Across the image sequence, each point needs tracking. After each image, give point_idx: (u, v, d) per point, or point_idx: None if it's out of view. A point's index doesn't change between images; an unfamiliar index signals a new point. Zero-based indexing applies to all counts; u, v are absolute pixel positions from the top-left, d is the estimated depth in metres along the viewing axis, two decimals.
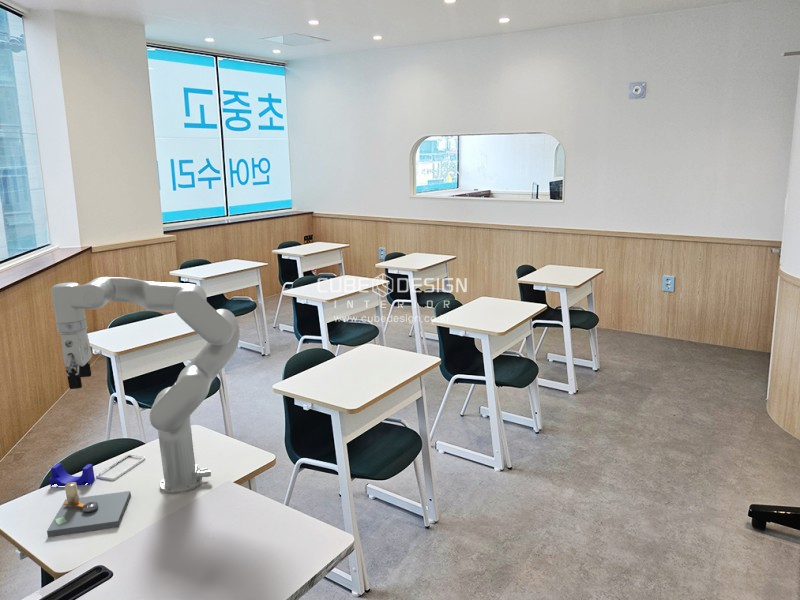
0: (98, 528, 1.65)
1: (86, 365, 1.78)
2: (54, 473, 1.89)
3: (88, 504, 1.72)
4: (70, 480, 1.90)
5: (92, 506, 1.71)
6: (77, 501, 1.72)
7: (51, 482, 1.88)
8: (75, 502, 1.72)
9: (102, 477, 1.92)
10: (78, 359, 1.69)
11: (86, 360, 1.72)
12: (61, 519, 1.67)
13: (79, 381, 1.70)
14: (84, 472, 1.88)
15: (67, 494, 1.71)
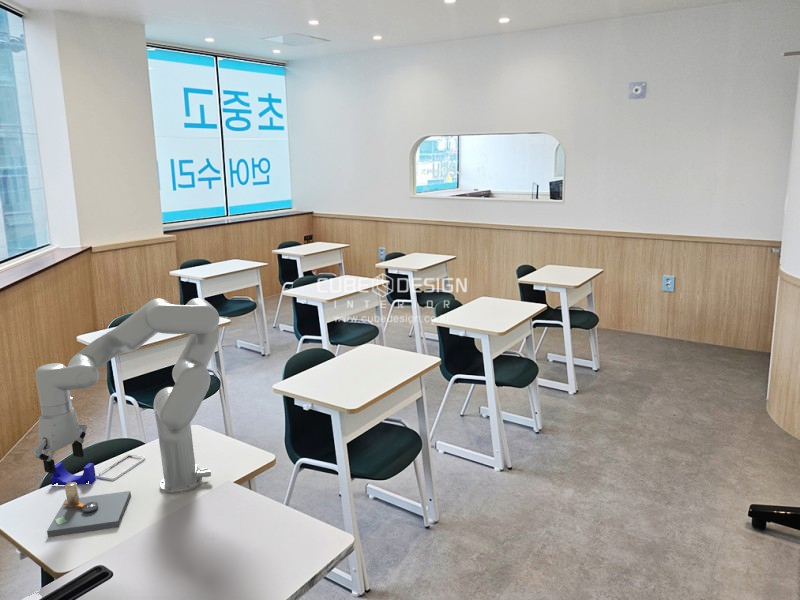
0: (98, 528, 1.65)
1: None
2: (55, 472, 1.89)
3: (88, 504, 1.72)
4: (71, 479, 1.90)
5: (92, 506, 1.71)
6: (77, 501, 1.72)
7: (52, 481, 1.89)
8: (75, 502, 1.72)
9: (102, 477, 1.92)
10: None
11: None
12: (61, 519, 1.67)
13: None
14: (85, 471, 1.88)
15: (67, 494, 1.71)
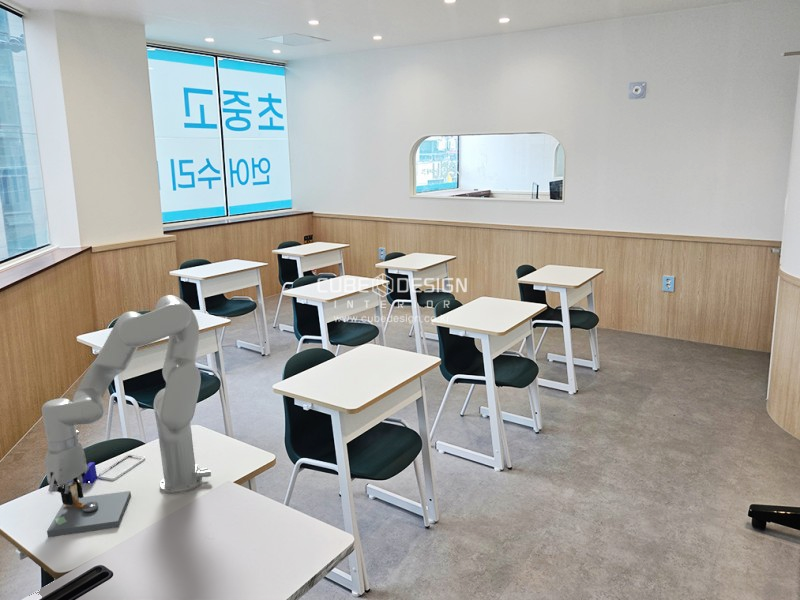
0: (98, 528, 1.65)
1: None
2: None
3: (88, 504, 1.72)
4: None
5: (92, 506, 1.71)
6: (77, 501, 1.72)
7: None
8: (75, 502, 1.72)
9: (102, 477, 1.92)
10: None
11: None
12: (61, 519, 1.67)
13: None
14: None
15: None
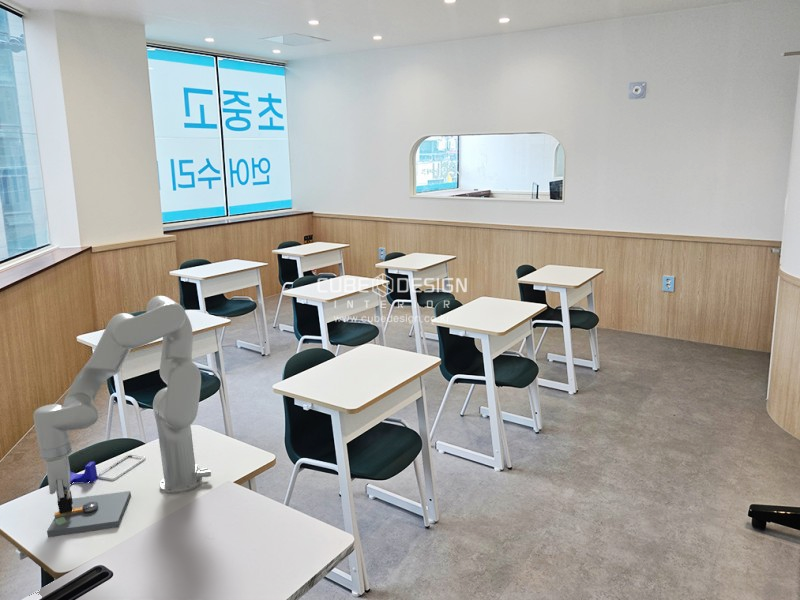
0: (98, 528, 1.65)
1: None
2: None
3: (86, 505, 1.71)
4: (73, 477, 1.91)
5: (94, 505, 1.72)
6: None
7: None
8: None
9: (102, 477, 1.92)
10: None
11: None
12: (61, 519, 1.67)
13: None
14: (87, 469, 1.89)
15: None
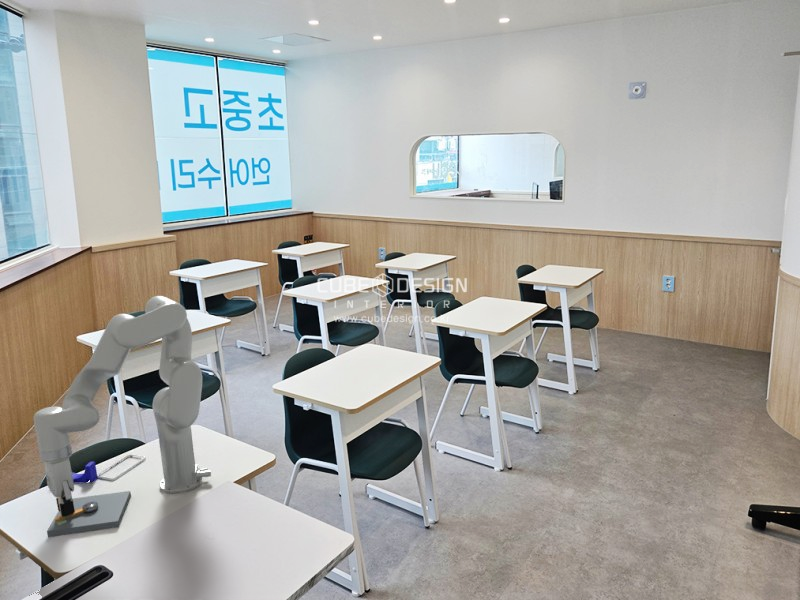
0: (98, 528, 1.65)
1: None
2: None
3: (86, 506, 1.71)
4: (73, 477, 1.91)
5: (94, 504, 1.72)
6: None
7: None
8: None
9: (102, 477, 1.92)
10: None
11: (49, 487, 1.65)
12: None
13: None
14: (87, 469, 1.89)
15: None
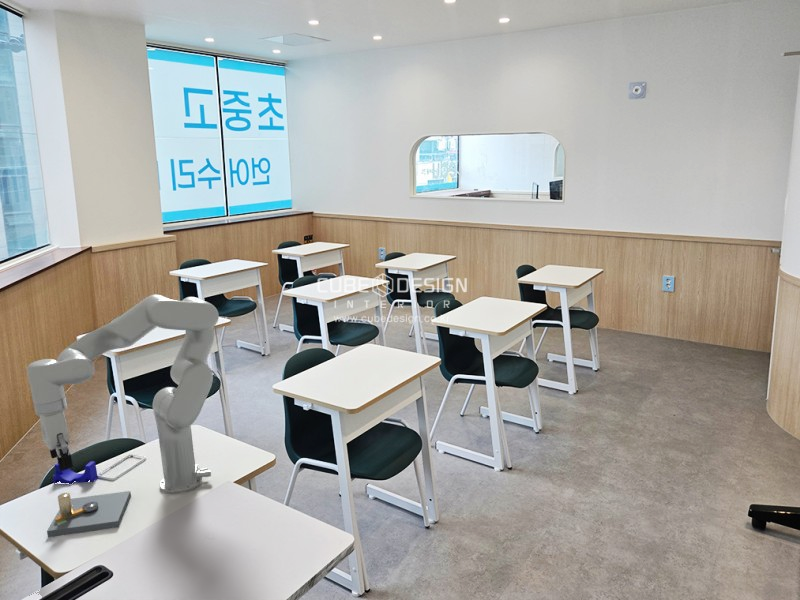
0: (98, 528, 1.65)
1: None
2: (57, 470, 1.91)
3: (86, 506, 1.71)
4: (73, 477, 1.91)
5: (94, 504, 1.72)
6: (72, 509, 1.68)
7: (54, 479, 1.90)
8: (72, 511, 1.68)
9: (102, 477, 1.93)
10: None
11: (44, 441, 1.63)
12: None
13: None
14: (87, 469, 1.89)
15: (66, 505, 1.66)
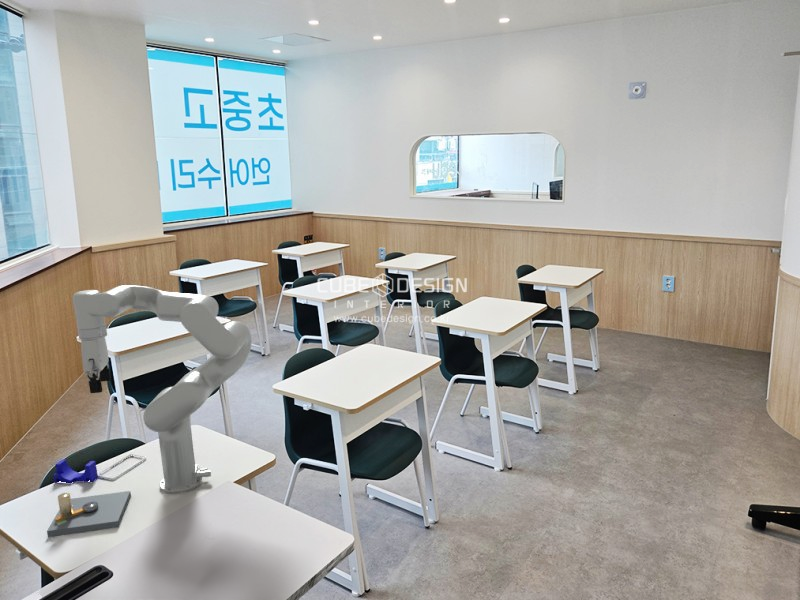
0: (98, 528, 1.65)
1: None
2: (58, 469, 1.91)
3: (86, 506, 1.71)
4: (74, 476, 1.92)
5: (94, 504, 1.72)
6: (72, 509, 1.68)
7: (55, 478, 1.90)
8: (72, 511, 1.68)
9: (102, 477, 1.93)
10: None
11: None
12: None
13: None
14: (87, 469, 1.90)
15: (66, 505, 1.66)
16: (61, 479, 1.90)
